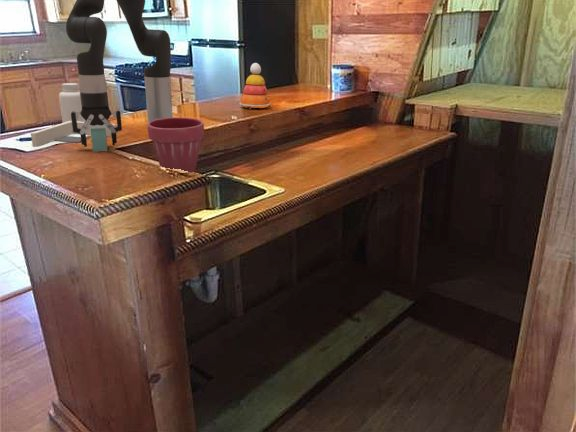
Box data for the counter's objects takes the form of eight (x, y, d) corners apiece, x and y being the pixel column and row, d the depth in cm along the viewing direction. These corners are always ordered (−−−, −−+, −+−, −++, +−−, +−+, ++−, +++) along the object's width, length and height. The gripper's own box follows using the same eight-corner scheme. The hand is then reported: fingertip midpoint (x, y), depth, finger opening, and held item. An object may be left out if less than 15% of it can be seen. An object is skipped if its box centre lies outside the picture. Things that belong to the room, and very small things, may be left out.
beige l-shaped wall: (71, 132, 171) (69, 120, 170) (117, 135, 169) (115, 124, 167) (32, 146, 153) (30, 133, 152) (83, 150, 150) (81, 137, 149)
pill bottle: (86, 123, 185) (81, 82, 180) (87, 128, 178) (81, 85, 173) (63, 124, 182) (57, 82, 177) (62, 129, 176) (56, 85, 170)
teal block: (93, 146, 155) (91, 127, 153) (107, 146, 156) (105, 126, 154) (93, 152, 149) (90, 132, 147) (107, 151, 150) (105, 131, 148)
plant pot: (163, 181, 125) (160, 130, 120) (142, 167, 136) (138, 120, 131) (214, 172, 133) (213, 124, 128) (191, 160, 144) (189, 115, 139)
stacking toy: (265, 111, 219) (265, 65, 212) (234, 109, 223) (234, 63, 216) (274, 106, 232) (275, 62, 225) (245, 104, 236) (245, 61, 228)
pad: (65, 136, 166) (65, 135, 166) (89, 138, 164) (88, 137, 164) (53, 140, 160) (53, 140, 160) (77, 142, 159) (77, 142, 159)
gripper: (118, 88, 151) (123, 141, 157) (67, 88, 147) (74, 143, 153) (119, 91, 145) (124, 147, 151) (66, 92, 140) (73, 149, 146)
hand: (99, 145), depth 152 cm, fingers open, 7 cm apart
